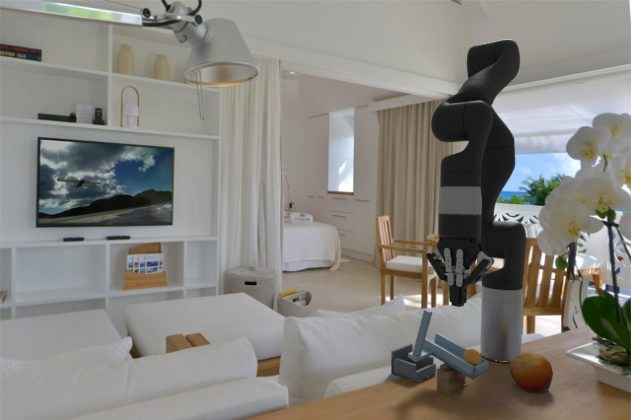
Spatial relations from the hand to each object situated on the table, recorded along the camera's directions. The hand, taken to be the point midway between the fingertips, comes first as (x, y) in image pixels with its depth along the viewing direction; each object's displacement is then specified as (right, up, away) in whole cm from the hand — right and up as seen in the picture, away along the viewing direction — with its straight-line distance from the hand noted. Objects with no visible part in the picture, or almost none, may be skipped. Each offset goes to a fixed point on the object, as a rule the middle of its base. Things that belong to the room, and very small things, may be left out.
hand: (457, 305), depth 81 cm
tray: (-5, -18, +16) cm, 25 cm away
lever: (0, -13, +7) cm, 15 cm away
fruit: (+18, -19, +9) cm, 28 cm away
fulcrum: (+2, -19, +9) cm, 21 cm away
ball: (+5, -12, +5) cm, 14 cm away
